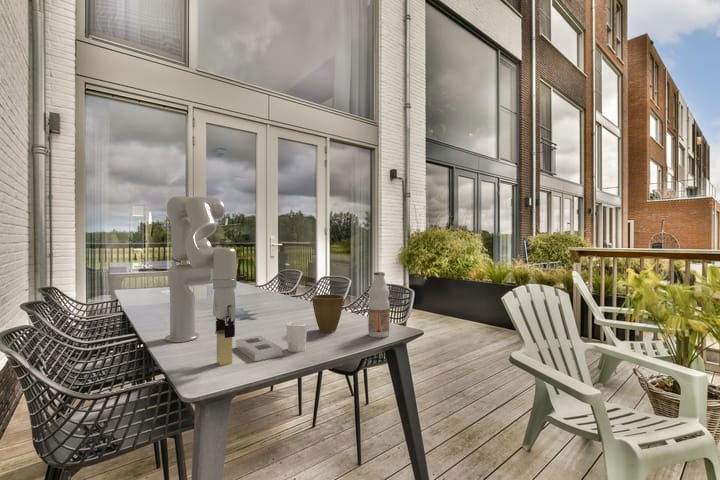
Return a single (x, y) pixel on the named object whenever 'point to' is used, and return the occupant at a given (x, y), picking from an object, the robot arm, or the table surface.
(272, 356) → the rail
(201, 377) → the table surface
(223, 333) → the brass square peg
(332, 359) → the table surface
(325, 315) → the plant pot
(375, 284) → the fruit juice
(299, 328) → the white cup
